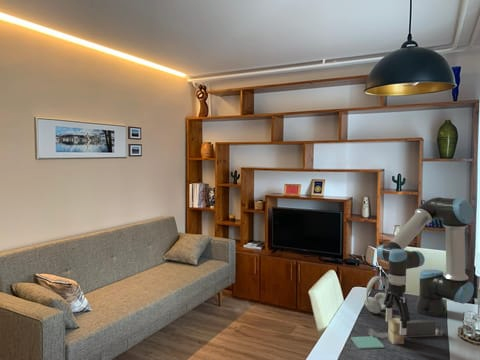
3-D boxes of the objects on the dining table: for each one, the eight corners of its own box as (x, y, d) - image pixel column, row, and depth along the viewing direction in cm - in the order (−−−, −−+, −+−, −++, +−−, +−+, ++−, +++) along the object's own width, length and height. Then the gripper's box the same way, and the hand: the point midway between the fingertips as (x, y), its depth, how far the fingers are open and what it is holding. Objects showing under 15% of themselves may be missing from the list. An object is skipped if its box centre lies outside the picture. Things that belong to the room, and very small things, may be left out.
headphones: (374, 318, 201) (374, 282, 200) (359, 313, 209) (360, 277, 207) (393, 310, 212) (394, 275, 211) (379, 305, 220) (380, 271, 218)
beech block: (398, 338, 179) (398, 318, 179) (403, 343, 174) (404, 322, 174) (388, 339, 179) (388, 318, 178) (393, 344, 174) (393, 323, 173)
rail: (437, 331, 187) (437, 326, 187) (443, 335, 182) (443, 330, 182) (368, 333, 184) (368, 328, 184) (372, 338, 180) (372, 333, 180)
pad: (375, 337, 180) (375, 336, 180) (384, 347, 171) (384, 346, 171) (350, 338, 180) (350, 337, 180) (358, 349, 170) (358, 347, 170)
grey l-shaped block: (425, 325, 192) (425, 314, 191) (435, 334, 183) (435, 322, 182) (394, 327, 191) (394, 315, 190) (403, 335, 182) (404, 323, 181)
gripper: (377, 274, 187) (376, 316, 188) (402, 292, 162) (401, 340, 163) (391, 274, 188) (390, 316, 189) (419, 292, 163) (417, 340, 164)
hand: (395, 327), depth 176 cm, fingers open, 13 cm apart
